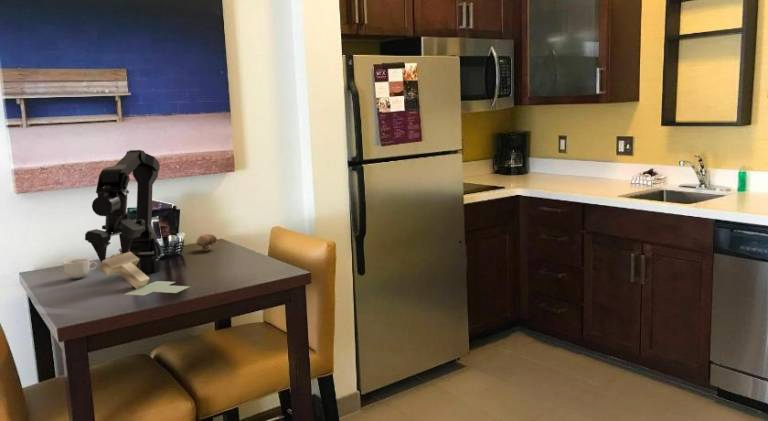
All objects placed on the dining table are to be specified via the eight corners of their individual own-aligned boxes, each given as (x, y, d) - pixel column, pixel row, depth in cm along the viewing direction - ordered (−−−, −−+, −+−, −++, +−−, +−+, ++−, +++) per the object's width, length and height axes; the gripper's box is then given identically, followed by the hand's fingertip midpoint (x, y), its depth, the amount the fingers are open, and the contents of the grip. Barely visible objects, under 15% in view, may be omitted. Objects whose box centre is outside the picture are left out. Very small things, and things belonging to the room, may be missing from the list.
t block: (98, 267, 184) (102, 260, 184) (126, 258, 196) (130, 251, 195) (127, 292, 183) (131, 285, 182) (154, 282, 194) (158, 274, 193)
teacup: (65, 281, 200) (63, 264, 199) (64, 276, 207) (62, 260, 206) (98, 276, 205) (97, 260, 204) (97, 271, 211) (95, 256, 211)
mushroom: (193, 252, 237) (192, 236, 236) (202, 248, 245) (201, 232, 244) (213, 252, 236) (211, 236, 235) (221, 248, 243) (220, 232, 242)
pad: (123, 294, 181) (123, 294, 181) (156, 281, 195) (156, 280, 195) (167, 297, 177) (167, 296, 177) (197, 283, 191) (197, 283, 191)
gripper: (116, 219, 176) (113, 271, 179) (158, 210, 193) (155, 258, 196) (84, 212, 179) (82, 264, 182) (129, 204, 196) (126, 251, 199)
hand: (113, 259), depth 190 cm, fingers open, 9 cm apart
